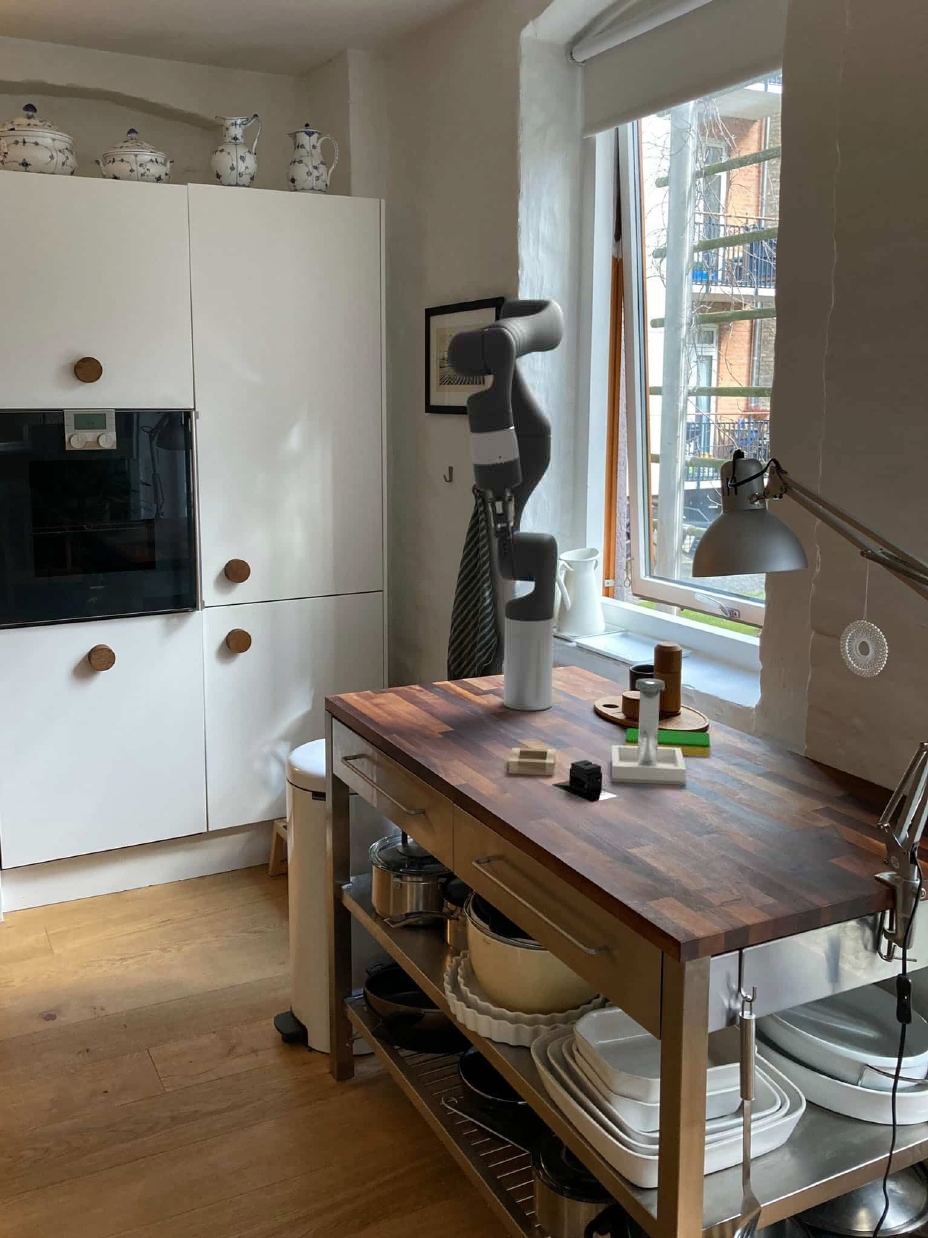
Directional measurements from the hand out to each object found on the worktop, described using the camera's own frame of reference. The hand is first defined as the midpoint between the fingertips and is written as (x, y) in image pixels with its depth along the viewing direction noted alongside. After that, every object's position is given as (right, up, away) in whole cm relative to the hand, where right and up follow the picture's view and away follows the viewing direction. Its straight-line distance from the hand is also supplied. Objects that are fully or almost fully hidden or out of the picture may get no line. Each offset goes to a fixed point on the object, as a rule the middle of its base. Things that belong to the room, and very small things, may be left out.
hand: (508, 554), depth 185 cm
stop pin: (+22, -34, -8) cm, 41 cm away
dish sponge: (+27, -33, +5) cm, 43 cm away
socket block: (+4, -34, -6) cm, 35 cm away
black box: (+11, -37, -16) cm, 42 cm away
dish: (+22, -35, -8) cm, 42 cm away
